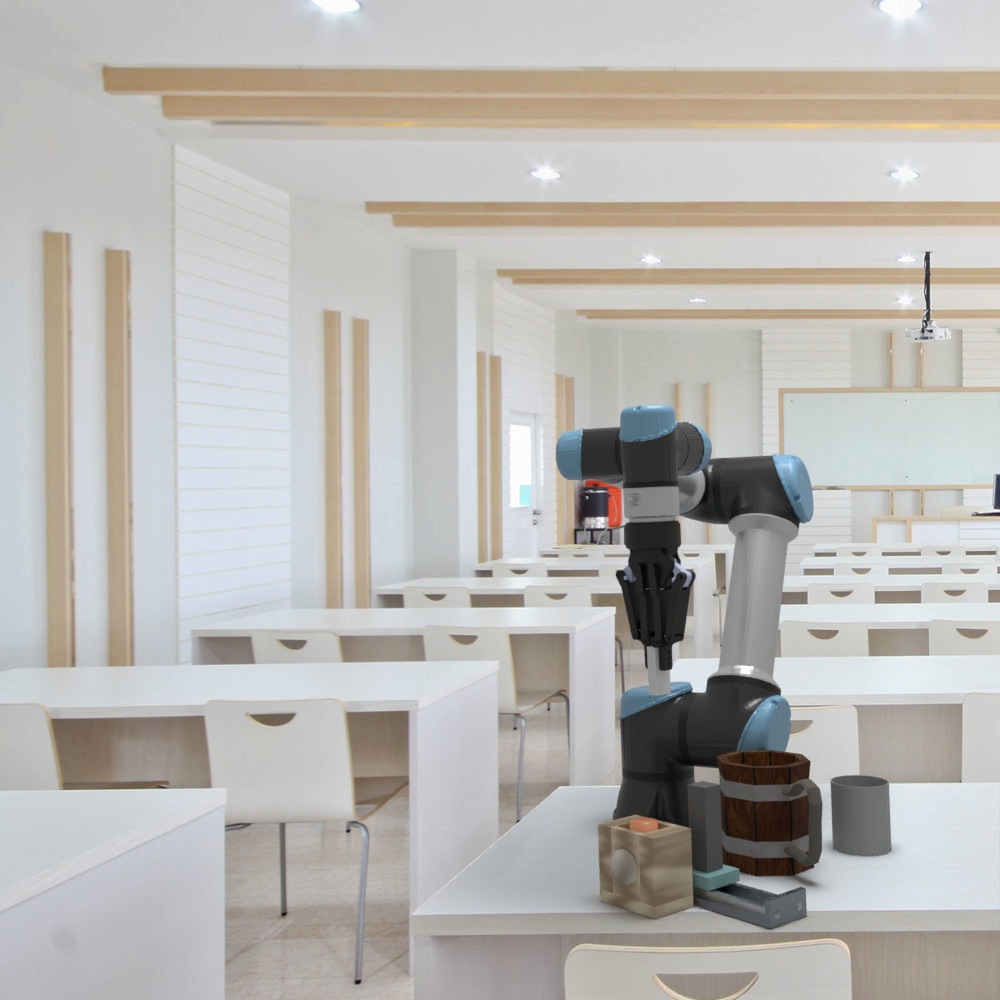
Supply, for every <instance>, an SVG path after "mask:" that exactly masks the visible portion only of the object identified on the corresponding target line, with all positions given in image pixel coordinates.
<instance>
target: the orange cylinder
mask: <svg viewBox="0 0 1000 1000" xmlns="http://www.w3.org/2000/svg"><path fill="white" fill-rule="evenodd" d="M630 830H633V831H637V832H641V833H647V832H651V831H655V830H658V820H656V819H654V818H646V817H642V818H634V819H631V820H630Z"/></svg>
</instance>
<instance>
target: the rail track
mask: <svg viewBox="0 0 1000 1000" xmlns="http://www.w3.org/2000/svg"><path fill="white" fill-rule="evenodd" d="M693 906H695V907H699V908H702V909H705V910H708V911H712V912H715V913H718V914H722V915H725V916H728V917H731V918H734V919H736V920H741V921H744V922H747V923H750V924H754V925H757V926H758V927H759V926H760V927H762V928H764V929H765V928H766V929H770V930H773V929H775V928H778V927H780V926H783V925H786V924H789V923H791V922H794V921H797V920H799V919H802V918H806V917H807V916H808V915H807V914H808V913H807V912H808V911H807V888H805V887H802V886H800V887H796V888H793V889H791V890H789V891H785V892H782V893H779V894H777V893H775V892H774V893H773V892H770V891H767V890H764V889H760V888H756V887H752V886H749V885H745V884H742V883H738V882H735V883H732V884H729V885H726V886H723V887H720V888H716V889H713V890H710V891H708V890H704V889H701V888H698V887H694V886H693Z"/></svg>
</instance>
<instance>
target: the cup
mask: <svg viewBox="0 0 1000 1000" xmlns="http://www.w3.org/2000/svg"><path fill="white" fill-rule="evenodd" d="M830 801H831V802H830V803H831V808H830V809H831V828H832V830H831V831H832V835H831V836H832V848H833V850H834V851H837V852H838V853H839V854H845V855H850V856H856V855H857V856H858V857H878V856H883V855H888V854H889V853H891V852H892V831H891V829H892V828H891V826H892V825H891V798H890V782H889V781H888V779H885V778H883V777H879V776H872V775H861V774H854V775H853V774H852V775H851V774H850V775H839V776H835V777H832V778H830ZM857 856H856V857H857Z"/></svg>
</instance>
